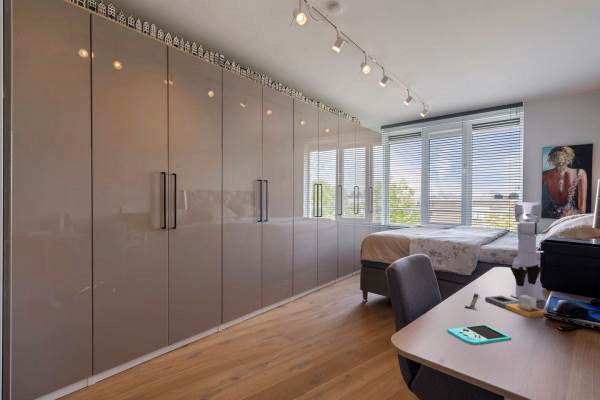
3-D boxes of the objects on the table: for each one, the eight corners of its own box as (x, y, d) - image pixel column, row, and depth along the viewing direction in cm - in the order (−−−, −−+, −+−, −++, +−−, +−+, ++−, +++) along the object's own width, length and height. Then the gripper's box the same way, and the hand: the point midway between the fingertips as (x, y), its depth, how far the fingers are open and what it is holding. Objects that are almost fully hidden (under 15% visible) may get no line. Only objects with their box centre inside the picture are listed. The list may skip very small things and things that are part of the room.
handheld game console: (446, 332, 100) (446, 328, 100) (484, 327, 104) (484, 323, 104) (470, 347, 90) (470, 342, 90) (512, 341, 95) (512, 336, 95)
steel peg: (524, 310, 120) (524, 294, 120) (535, 313, 116) (536, 298, 116) (518, 311, 118) (518, 296, 118) (529, 315, 115) (530, 299, 115)
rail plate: (501, 298, 133) (501, 295, 133) (547, 315, 114) (547, 311, 114) (485, 300, 130) (485, 297, 130) (529, 317, 112) (529, 313, 112)
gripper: (527, 248, 128) (526, 280, 128) (504, 250, 123) (504, 283, 123) (546, 251, 122) (545, 285, 122) (523, 253, 116) (522, 288, 116)
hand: (526, 284), depth 122 cm, fingers open, 7 cm apart
